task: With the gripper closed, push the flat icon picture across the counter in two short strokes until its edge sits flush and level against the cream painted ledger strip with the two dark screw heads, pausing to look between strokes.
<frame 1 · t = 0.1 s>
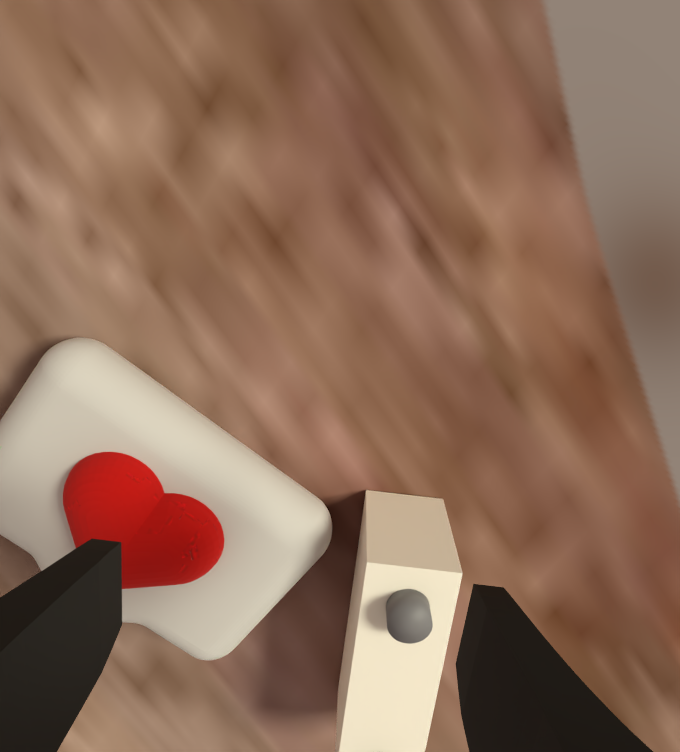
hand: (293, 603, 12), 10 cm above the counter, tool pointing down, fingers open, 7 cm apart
icon: (154, 500, 23), on the counter
ledger strip: (387, 600, 24), on the counter
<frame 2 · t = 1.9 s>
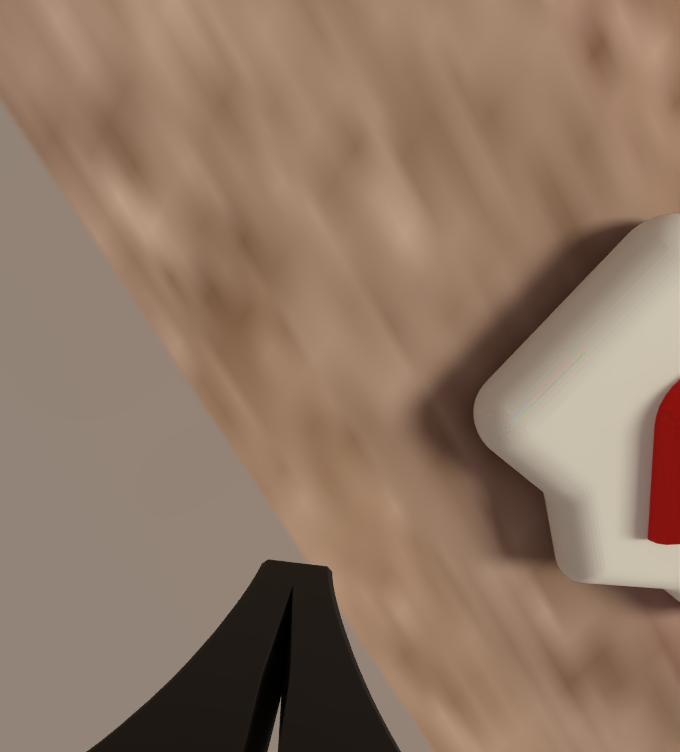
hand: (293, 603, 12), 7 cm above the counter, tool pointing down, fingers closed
icon: (655, 439, 19), on the counter
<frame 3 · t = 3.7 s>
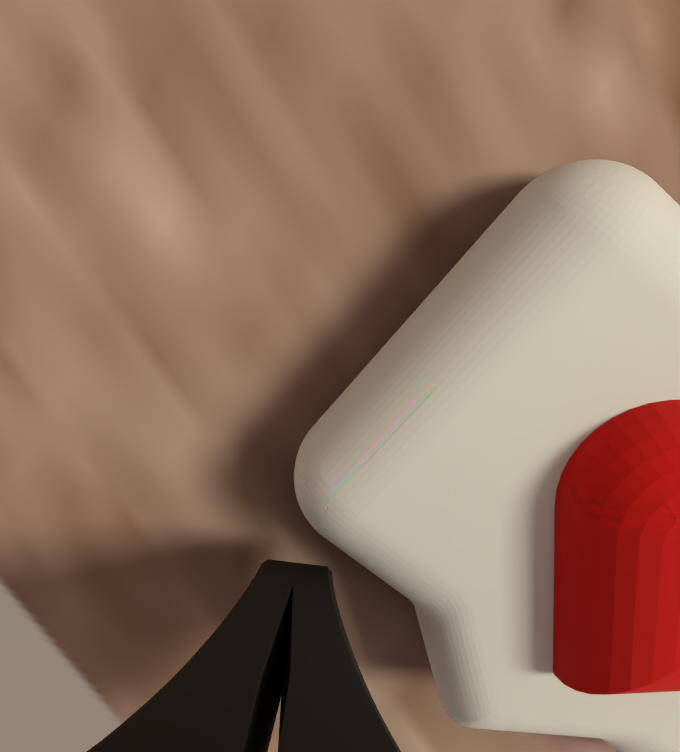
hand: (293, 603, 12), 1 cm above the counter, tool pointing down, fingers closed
icon: (581, 503, 13), on the counter
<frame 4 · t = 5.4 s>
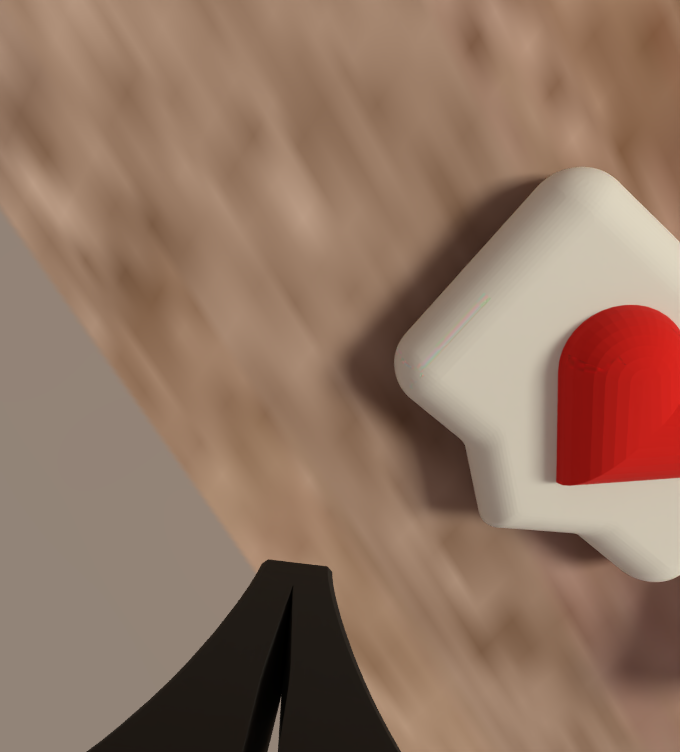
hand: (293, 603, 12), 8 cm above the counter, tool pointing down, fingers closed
icon: (574, 393, 19), on the counter
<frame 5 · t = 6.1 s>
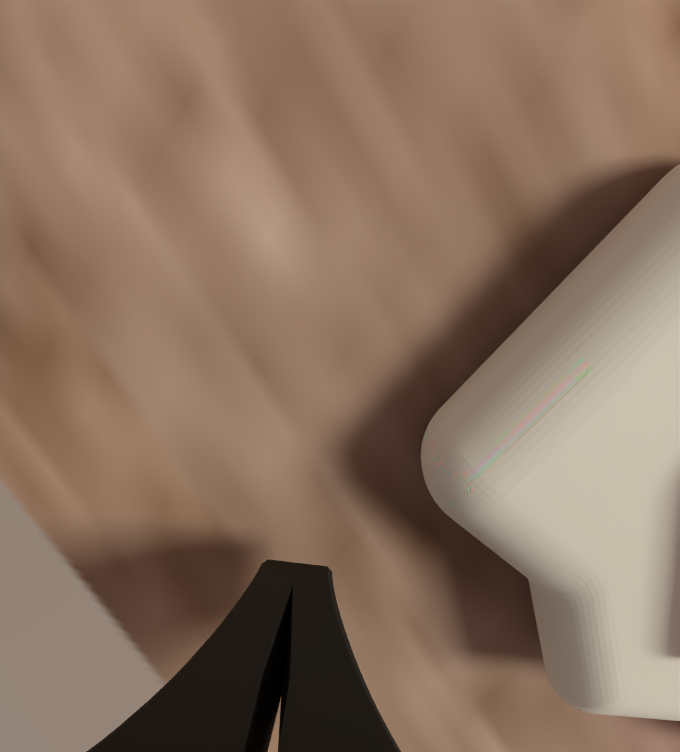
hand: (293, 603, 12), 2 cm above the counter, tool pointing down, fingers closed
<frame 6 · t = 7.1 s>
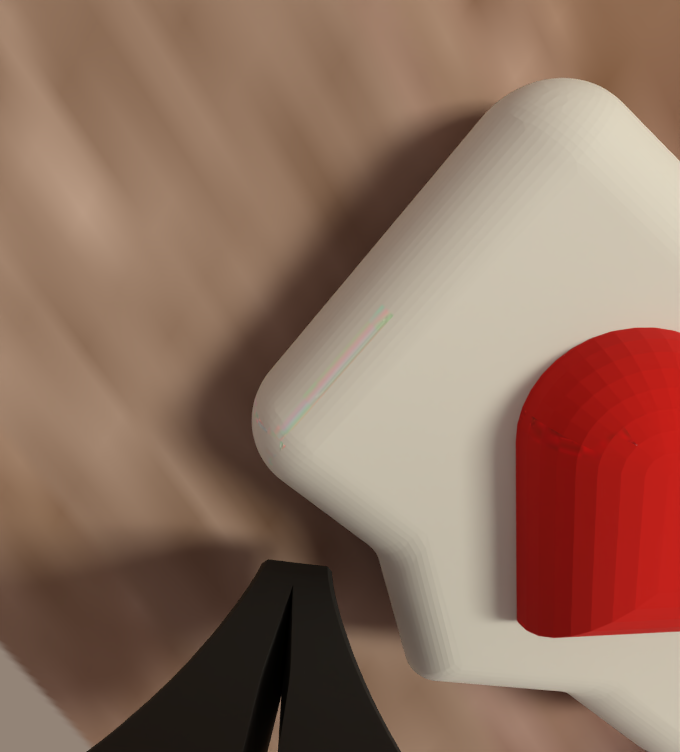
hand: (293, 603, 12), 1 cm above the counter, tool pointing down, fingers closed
icon: (553, 456, 12), on the counter
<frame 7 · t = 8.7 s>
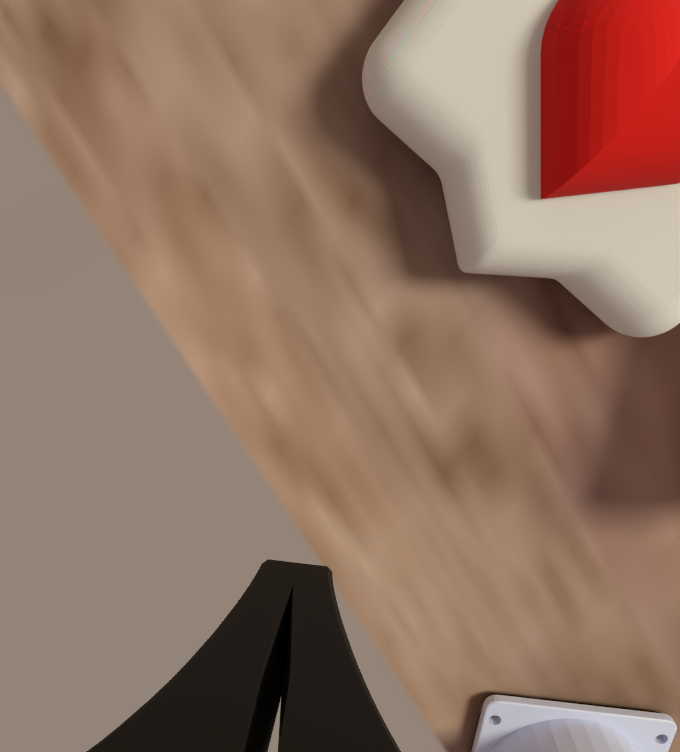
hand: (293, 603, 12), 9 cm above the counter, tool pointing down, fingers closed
icon: (562, 138, 18), on the counter
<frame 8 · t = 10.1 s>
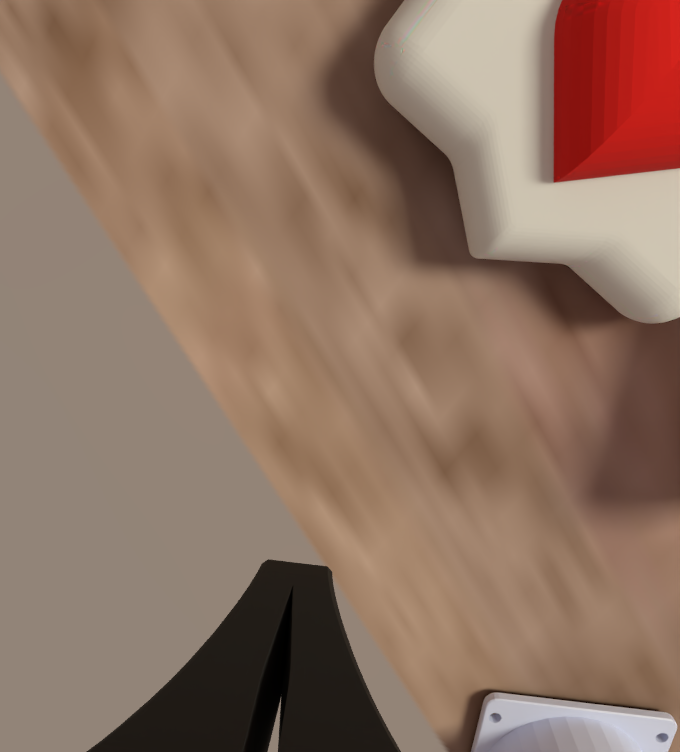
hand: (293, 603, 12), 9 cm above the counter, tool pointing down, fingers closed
icon: (574, 124, 18), on the counter
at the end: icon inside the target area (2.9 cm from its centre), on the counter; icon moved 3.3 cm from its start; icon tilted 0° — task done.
